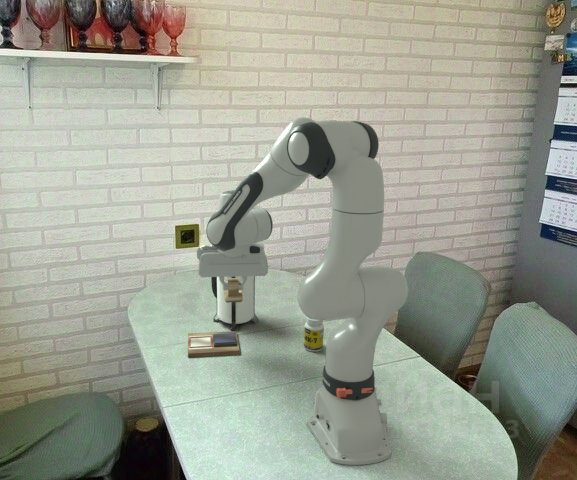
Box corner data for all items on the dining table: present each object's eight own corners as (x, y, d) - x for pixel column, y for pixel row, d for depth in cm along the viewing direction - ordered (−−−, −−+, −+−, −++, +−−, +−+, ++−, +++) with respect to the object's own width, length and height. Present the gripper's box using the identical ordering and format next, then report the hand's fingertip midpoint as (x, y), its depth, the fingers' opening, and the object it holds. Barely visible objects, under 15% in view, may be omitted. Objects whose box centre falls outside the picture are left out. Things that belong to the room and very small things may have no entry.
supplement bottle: (300, 349, 171) (301, 318, 168) (308, 341, 175) (309, 311, 172) (318, 354, 168) (319, 322, 165) (325, 346, 173) (327, 315, 170)
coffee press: (261, 312, 196) (262, 228, 187) (254, 332, 180) (255, 243, 172) (212, 309, 197) (211, 226, 188) (201, 329, 182) (199, 240, 173)
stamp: (242, 302, 166) (242, 283, 164) (224, 302, 165) (224, 283, 163) (241, 295, 170) (241, 276, 169) (224, 295, 170) (224, 277, 168)
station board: (239, 354, 167) (239, 347, 166) (188, 357, 164) (187, 350, 164) (236, 334, 179) (236, 327, 178) (188, 336, 176) (188, 330, 176)
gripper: (196, 249, 158) (197, 294, 162) (269, 248, 161) (268, 292, 165) (196, 242, 164) (197, 286, 168) (266, 240, 167) (265, 284, 171)
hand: (233, 289), depth 167 cm, fingers closed on stamp, 3 cm apart
